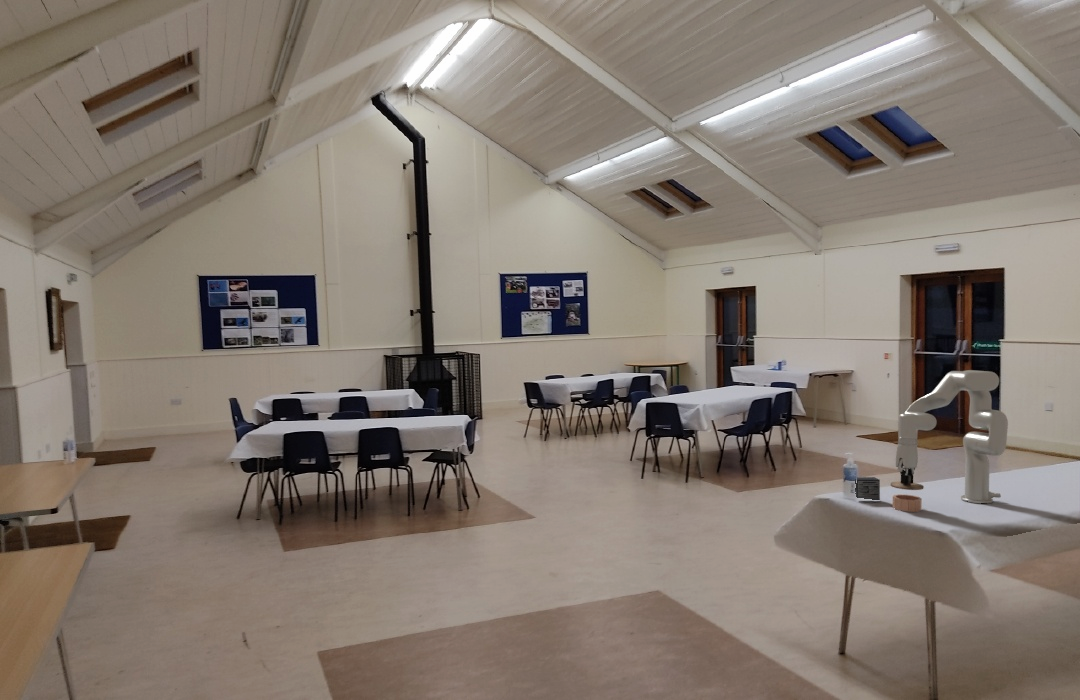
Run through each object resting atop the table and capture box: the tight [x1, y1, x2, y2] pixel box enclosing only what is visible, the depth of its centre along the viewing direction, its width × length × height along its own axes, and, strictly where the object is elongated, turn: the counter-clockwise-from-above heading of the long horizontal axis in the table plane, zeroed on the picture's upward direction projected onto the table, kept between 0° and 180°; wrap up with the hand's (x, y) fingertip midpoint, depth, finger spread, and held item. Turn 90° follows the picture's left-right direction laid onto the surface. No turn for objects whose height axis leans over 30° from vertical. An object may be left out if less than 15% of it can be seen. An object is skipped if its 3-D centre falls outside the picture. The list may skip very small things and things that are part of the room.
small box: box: [855, 476, 881, 501], centre depth 339 cm, size 11×6×10 cm, turn 88°
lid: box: [890, 475, 925, 491], centre depth 323 cm, size 13×13×5 cm
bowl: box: [892, 494, 923, 513], centre depth 323 cm, size 11×11×5 cm
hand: (906, 483), depth 323 cm, fingers closed on lid, 3 cm apart
